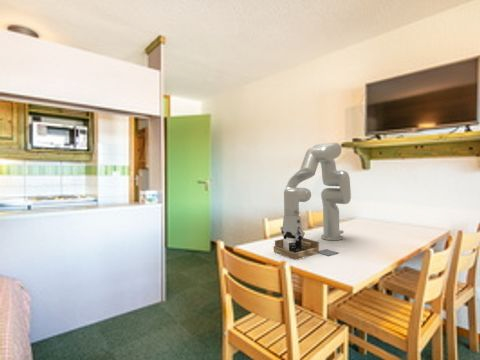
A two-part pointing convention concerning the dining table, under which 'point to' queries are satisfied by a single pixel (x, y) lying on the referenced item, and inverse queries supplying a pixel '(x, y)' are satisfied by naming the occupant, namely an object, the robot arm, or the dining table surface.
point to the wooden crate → (315, 250)
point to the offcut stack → (305, 245)
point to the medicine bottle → (290, 243)
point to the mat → (327, 252)
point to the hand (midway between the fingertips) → (292, 245)
